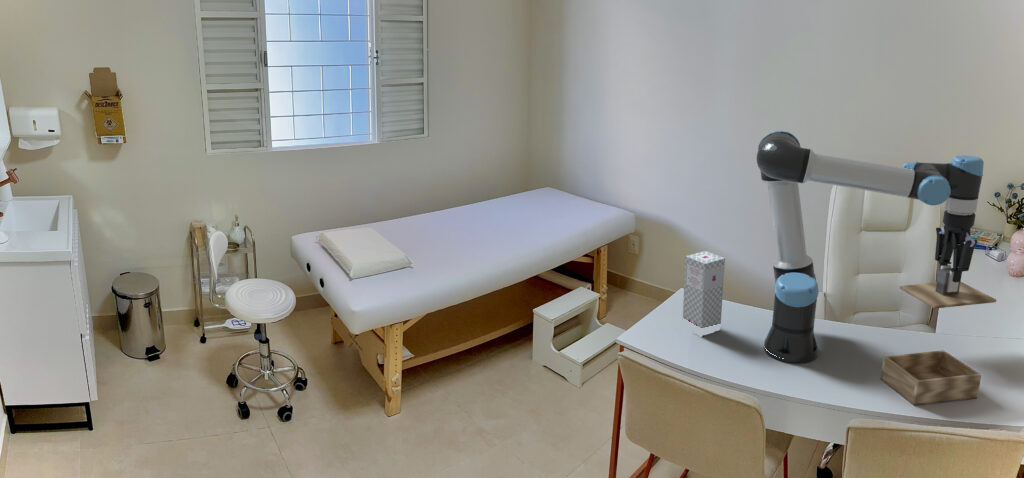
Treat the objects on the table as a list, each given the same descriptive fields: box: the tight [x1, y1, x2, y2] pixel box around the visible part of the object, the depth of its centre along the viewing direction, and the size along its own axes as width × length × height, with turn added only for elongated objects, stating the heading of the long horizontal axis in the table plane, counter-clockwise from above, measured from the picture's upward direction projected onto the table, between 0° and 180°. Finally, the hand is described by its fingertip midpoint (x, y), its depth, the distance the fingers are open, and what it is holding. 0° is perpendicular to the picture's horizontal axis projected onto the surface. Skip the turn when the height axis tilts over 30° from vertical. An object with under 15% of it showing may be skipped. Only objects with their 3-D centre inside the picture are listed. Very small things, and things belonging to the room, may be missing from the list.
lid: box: [899, 267, 997, 310], centre depth 206 cm, size 19×15×8 cm
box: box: [682, 250, 726, 328], centre depth 228 cm, size 8×8×25 cm
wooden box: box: [880, 349, 982, 406], centre depth 192 cm, size 18×14×7 cm
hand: (947, 288), depth 207 cm, fingers closed on lid, 3 cm apart
